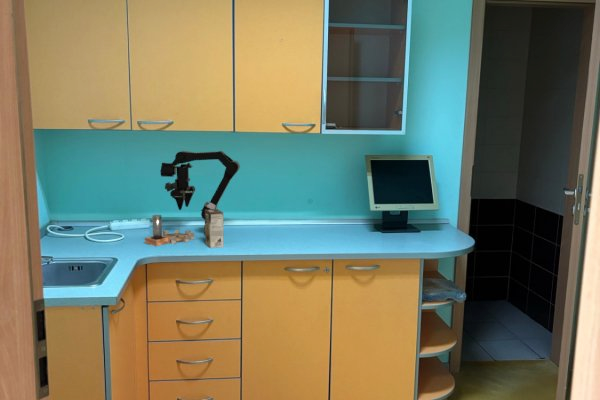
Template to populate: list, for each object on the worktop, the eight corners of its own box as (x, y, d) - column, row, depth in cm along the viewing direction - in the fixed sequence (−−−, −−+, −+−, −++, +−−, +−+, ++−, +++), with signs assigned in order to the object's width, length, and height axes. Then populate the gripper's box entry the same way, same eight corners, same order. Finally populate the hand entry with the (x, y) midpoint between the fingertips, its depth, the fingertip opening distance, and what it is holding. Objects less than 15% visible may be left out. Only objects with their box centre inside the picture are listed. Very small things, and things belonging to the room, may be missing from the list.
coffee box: (204, 243, 270) (204, 209, 268) (218, 242, 273) (217, 208, 271) (210, 248, 262) (209, 212, 260) (224, 246, 265) (223, 211, 262)
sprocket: (178, 233, 291) (178, 228, 291) (201, 238, 280) (201, 232, 280) (139, 241, 273) (139, 235, 273) (161, 247, 263) (161, 241, 262)
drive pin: (162, 242, 273) (161, 214, 271) (161, 244, 270) (161, 216, 268) (153, 242, 273) (152, 214, 271) (152, 244, 269) (152, 216, 267)
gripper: (174, 174, 297) (174, 204, 299) (159, 178, 278) (160, 210, 281) (195, 174, 295) (195, 205, 297) (181, 179, 277) (182, 211, 279)
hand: (183, 208), depth 289 cm, fingers open, 9 cm apart
